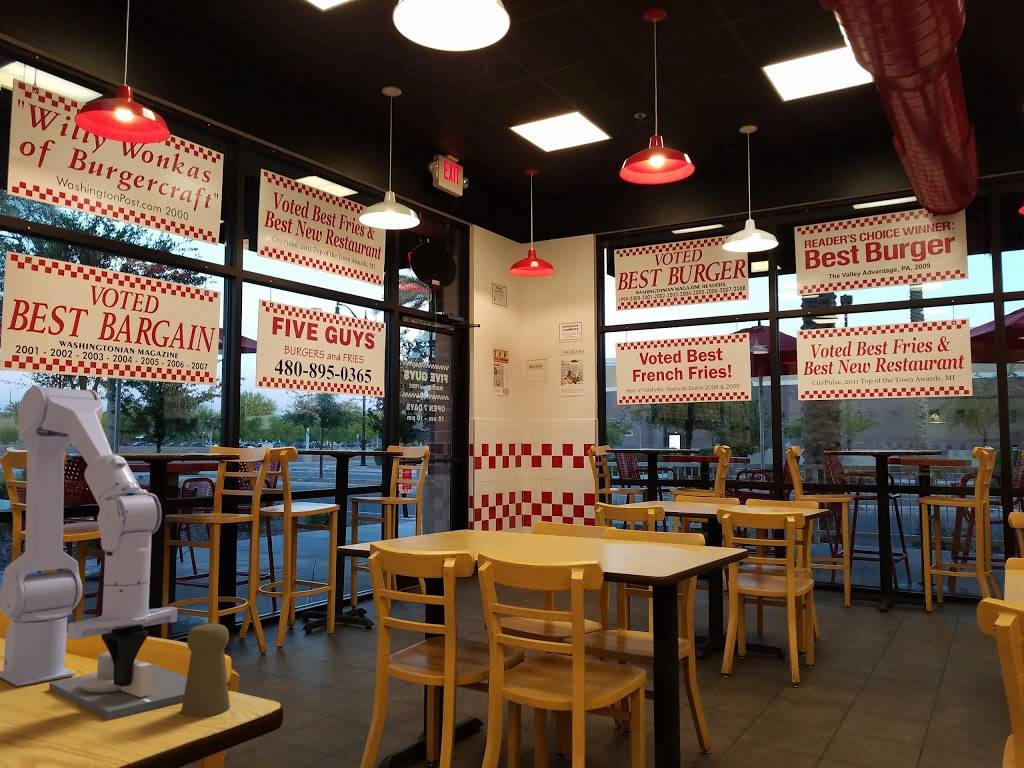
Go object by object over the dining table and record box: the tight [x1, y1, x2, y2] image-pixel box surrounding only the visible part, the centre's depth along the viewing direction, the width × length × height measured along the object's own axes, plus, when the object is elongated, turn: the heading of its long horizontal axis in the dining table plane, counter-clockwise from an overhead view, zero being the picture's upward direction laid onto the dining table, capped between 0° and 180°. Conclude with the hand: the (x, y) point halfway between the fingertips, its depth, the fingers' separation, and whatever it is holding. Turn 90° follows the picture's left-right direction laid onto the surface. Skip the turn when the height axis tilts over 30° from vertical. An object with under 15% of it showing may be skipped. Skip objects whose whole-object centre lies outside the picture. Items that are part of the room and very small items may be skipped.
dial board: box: [48, 662, 187, 721], centre depth 113 cm, size 20×14×1 cm
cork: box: [180, 623, 231, 718], centre depth 106 cm, size 6×6×11 cm
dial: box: [80, 651, 153, 697], centre depth 112 cm, size 13×8×4 cm, turn 53°
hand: (122, 684), depth 108 cm, fingers closed
